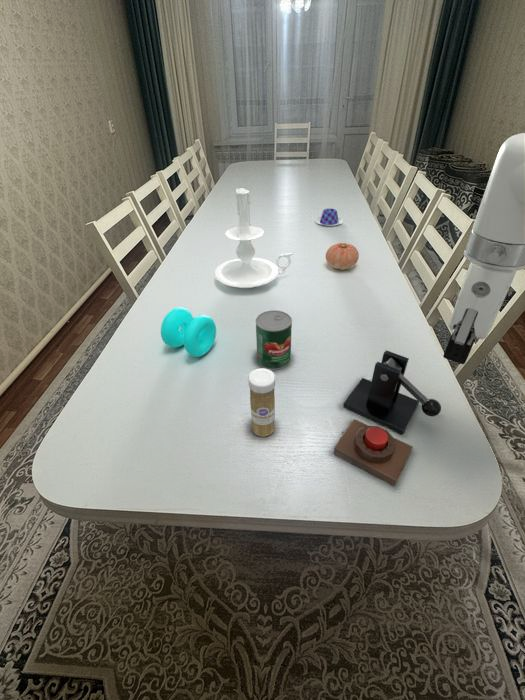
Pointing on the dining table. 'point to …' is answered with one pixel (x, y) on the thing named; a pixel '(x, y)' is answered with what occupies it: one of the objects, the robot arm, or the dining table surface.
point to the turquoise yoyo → (188, 331)
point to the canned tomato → (273, 339)
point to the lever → (416, 392)
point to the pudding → (329, 218)
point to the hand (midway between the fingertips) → (454, 358)
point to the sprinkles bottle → (262, 401)
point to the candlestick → (247, 253)
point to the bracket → (384, 396)
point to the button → (375, 438)
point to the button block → (373, 453)
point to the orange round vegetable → (342, 256)
